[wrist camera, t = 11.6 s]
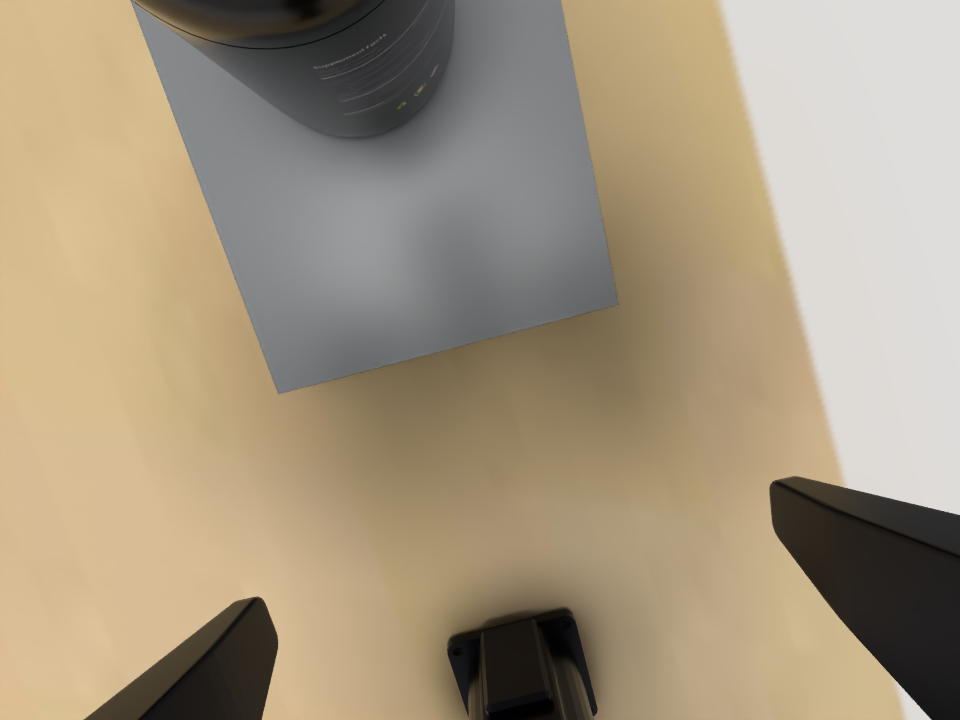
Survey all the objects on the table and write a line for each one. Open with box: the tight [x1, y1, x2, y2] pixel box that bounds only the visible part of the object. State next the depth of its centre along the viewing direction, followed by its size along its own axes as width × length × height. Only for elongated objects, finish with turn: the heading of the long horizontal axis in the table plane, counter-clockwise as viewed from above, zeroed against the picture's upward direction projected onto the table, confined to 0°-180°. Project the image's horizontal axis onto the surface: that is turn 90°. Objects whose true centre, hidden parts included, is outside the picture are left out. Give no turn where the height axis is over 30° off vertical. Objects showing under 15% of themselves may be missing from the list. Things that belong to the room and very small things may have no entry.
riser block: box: [131, 0, 619, 394], centre depth 17 cm, size 16×13×3 cm
